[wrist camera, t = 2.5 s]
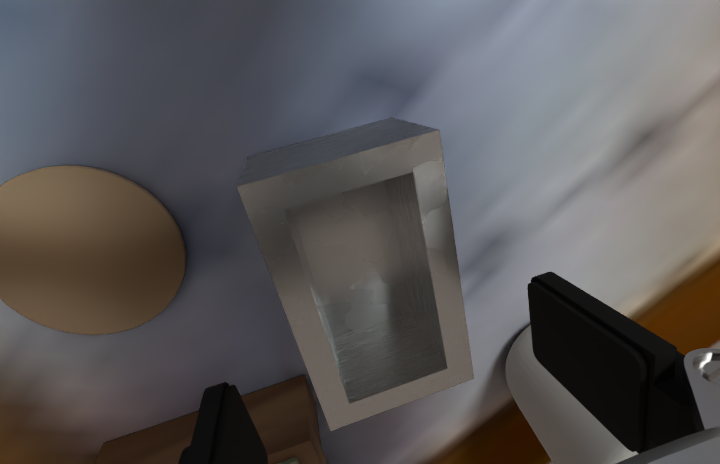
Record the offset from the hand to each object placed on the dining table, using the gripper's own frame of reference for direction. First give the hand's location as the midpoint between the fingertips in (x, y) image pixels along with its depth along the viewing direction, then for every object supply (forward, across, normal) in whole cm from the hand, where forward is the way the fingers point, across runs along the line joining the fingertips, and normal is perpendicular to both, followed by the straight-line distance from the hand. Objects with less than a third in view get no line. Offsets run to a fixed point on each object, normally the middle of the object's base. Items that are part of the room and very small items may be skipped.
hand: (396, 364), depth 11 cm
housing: (+7, 0, -1) cm, 7 cm away
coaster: (+6, +10, -4) cm, 13 cm away
